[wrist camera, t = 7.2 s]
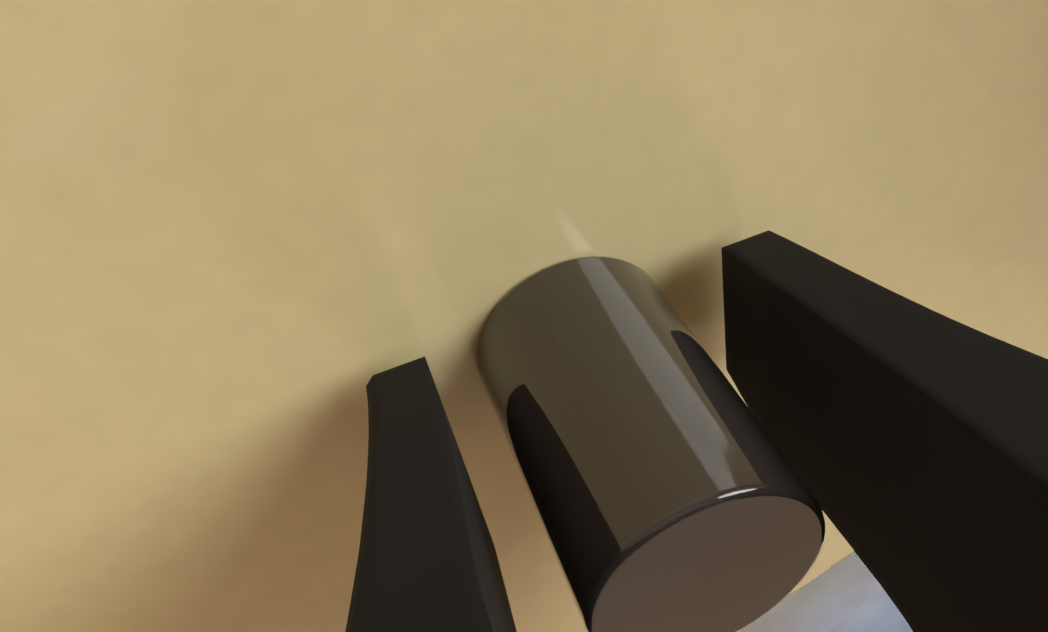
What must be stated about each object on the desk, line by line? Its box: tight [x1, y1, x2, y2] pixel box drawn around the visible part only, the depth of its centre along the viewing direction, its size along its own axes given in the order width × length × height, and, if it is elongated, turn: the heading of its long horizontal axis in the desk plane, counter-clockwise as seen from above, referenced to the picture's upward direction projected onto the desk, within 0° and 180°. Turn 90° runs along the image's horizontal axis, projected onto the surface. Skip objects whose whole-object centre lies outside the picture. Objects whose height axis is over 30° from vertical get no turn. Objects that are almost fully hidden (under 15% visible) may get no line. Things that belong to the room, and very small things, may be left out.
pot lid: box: [0, 0, 1048, 632], centre depth 10 cm, size 18×18×5 cm
